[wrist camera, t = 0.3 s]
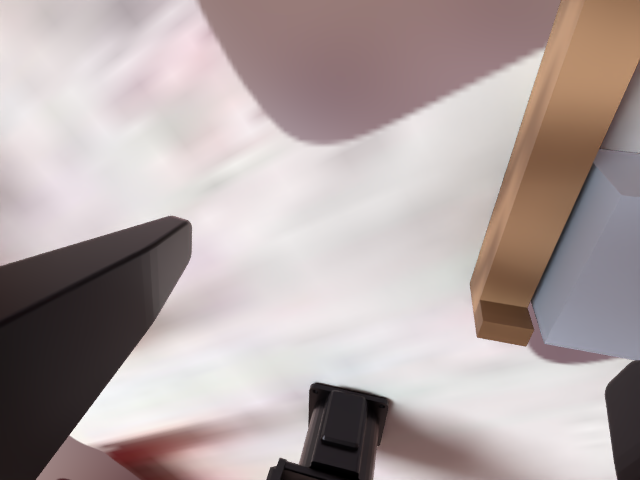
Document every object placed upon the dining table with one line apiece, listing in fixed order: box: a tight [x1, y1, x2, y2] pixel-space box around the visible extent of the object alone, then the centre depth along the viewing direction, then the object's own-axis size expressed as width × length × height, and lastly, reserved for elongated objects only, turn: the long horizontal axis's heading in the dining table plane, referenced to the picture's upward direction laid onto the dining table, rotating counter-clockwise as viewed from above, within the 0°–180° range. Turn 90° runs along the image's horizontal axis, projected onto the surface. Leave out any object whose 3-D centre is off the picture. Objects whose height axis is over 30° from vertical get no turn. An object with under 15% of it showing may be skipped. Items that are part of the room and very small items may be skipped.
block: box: [531, 149, 640, 360], centre depth 18 cm, size 8×6×5 cm
